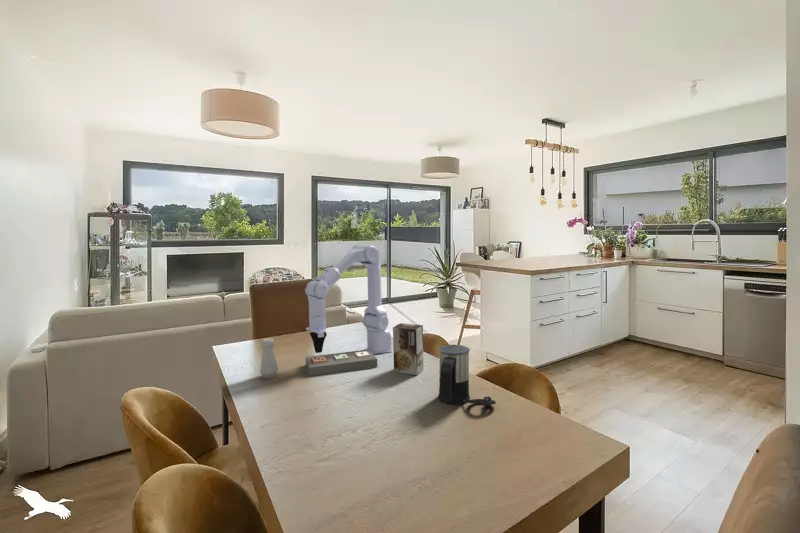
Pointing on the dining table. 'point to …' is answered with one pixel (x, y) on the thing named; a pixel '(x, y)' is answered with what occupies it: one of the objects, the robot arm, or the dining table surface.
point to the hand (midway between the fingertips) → (318, 352)
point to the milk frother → (456, 376)
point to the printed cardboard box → (408, 348)
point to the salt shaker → (268, 359)
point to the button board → (340, 363)
